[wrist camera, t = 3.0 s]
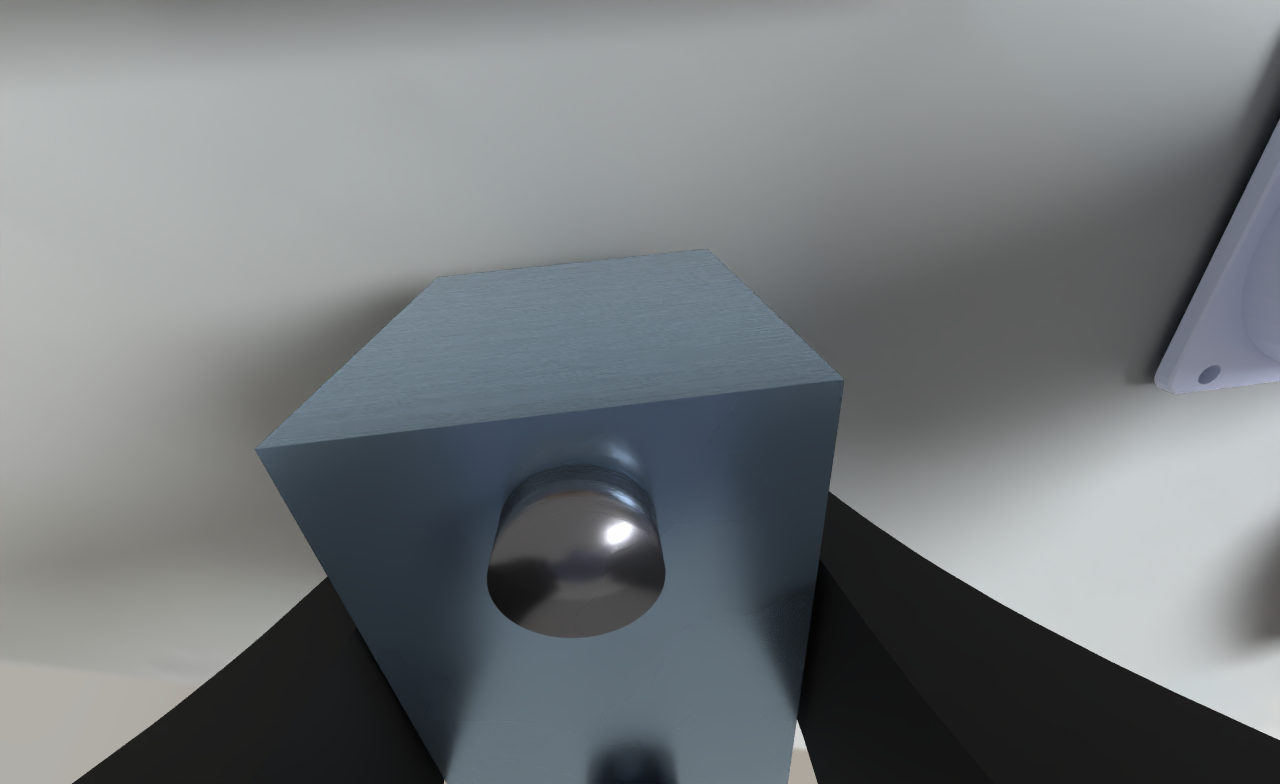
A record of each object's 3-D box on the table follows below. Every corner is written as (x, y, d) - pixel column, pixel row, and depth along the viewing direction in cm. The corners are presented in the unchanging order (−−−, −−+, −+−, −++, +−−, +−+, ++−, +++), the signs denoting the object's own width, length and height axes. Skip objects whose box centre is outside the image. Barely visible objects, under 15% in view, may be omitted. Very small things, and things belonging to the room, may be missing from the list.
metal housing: (708, 248, 8) (884, 419, 3) (712, 570, 12) (797, 871, 7) (437, 277, 8) (197, 503, 3) (529, 596, 12) (487, 922, 7)
